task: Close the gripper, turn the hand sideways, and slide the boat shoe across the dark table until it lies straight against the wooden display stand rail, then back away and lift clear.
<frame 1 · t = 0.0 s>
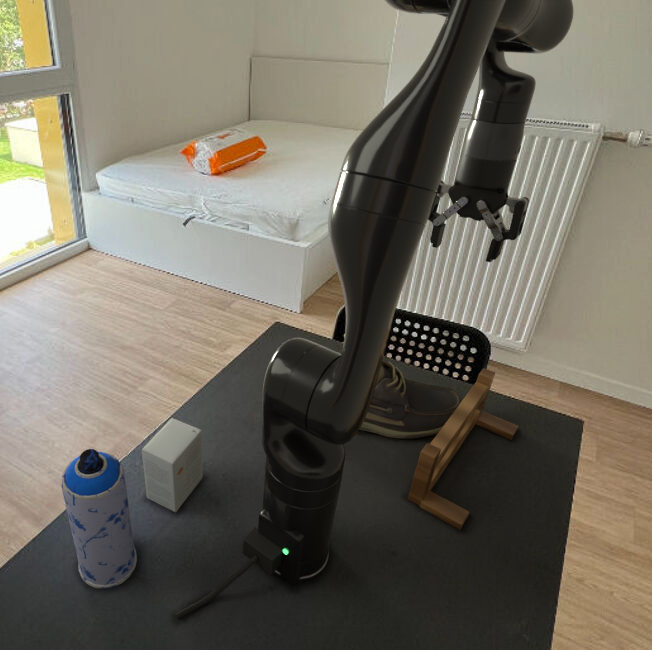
hand: (462, 253, 86), 29 cm above the table, tool pointing down, fingers open, 8 cm apart
wooden display stand: (447, 454, 89), on the table
small box: (175, 489, 83), on the table
boat shoe: (374, 420, 96), on the table
aerosol can: (108, 562, 72), on the table
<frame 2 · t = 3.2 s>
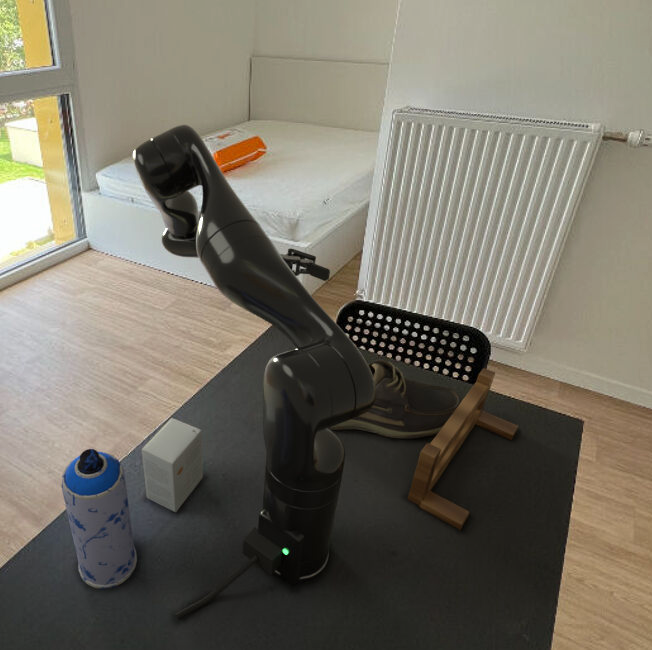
hand: (315, 283, 93), 22 cm above the table, tool horizontal, fingers open, 8 cm apart
nothing on the table moved.
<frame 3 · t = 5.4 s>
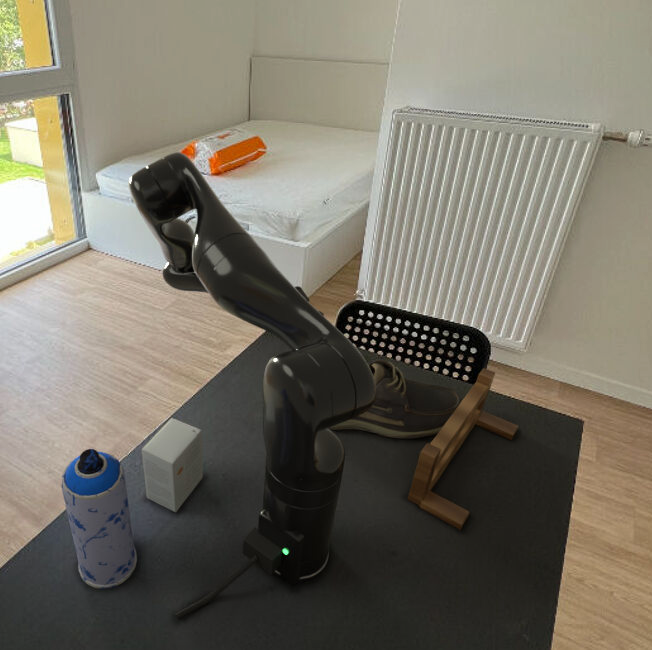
hand: (321, 319, 95), 16 cm above the table, tool horizontal, fingers closed
nothing on the table moved.
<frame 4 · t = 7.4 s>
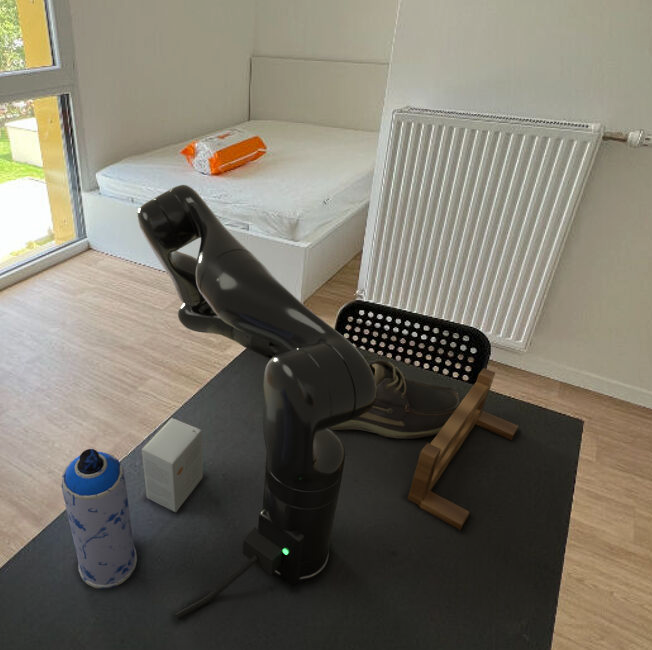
hand: (336, 367, 97), 7 cm above the table, tool horizontal, fingers closed
boat shoe: (375, 420, 96), on the table, touching gripper
everything else where it was.
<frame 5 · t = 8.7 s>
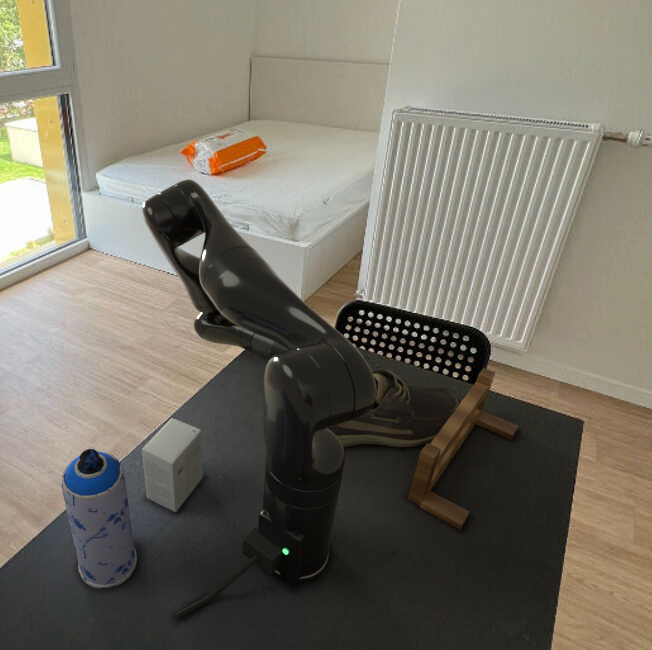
hand: (360, 381, 95), 7 cm above the table, tool horizontal, fingers closed
boat shoe: (378, 430, 94), on the table, touching gripper, wooden display stand
everything else where it was.
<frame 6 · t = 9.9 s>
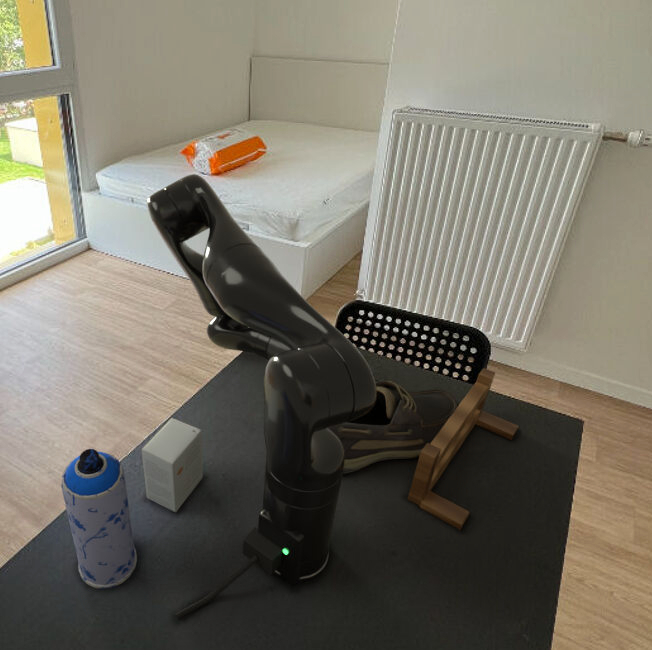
hand: (380, 390, 92), 7 cm above the table, tool horizontal, fingers closed
boat shoe: (384, 443, 91), on the table, touching gripper, wooden display stand
everything else where it was.
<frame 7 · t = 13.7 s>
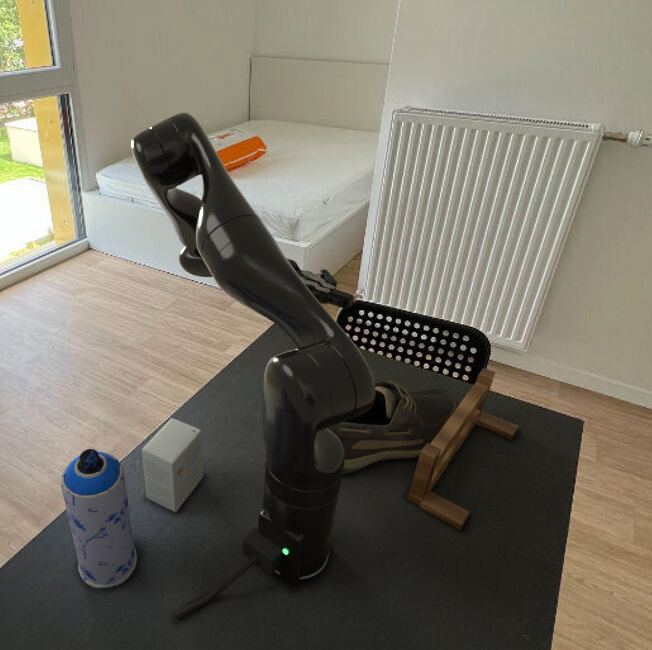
hand: (351, 302, 89), 21 cm above the table, tool horizontal, fingers closed
boat shoe: (384, 443, 91), on the table
everything else where it was.
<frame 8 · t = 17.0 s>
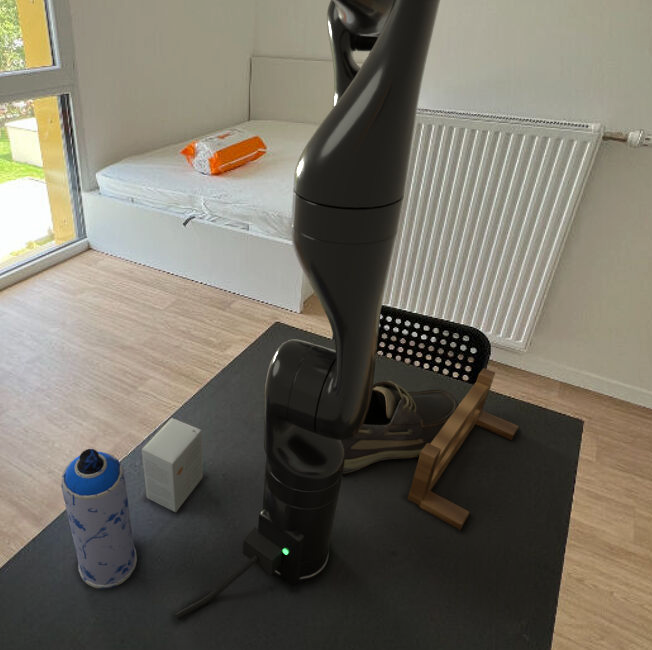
hand: (337, 273, 81), 29 cm above the table, tool pointing down, fingers closed
nothing on the table moved.
at the end: boat shoe inside the target area (3.7 cm from its centre), on the table; boat shoe moved 5.9 cm from its start; boat shoe tilted 0° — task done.
